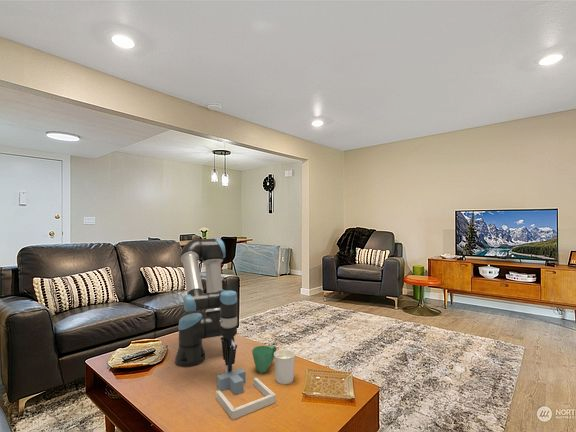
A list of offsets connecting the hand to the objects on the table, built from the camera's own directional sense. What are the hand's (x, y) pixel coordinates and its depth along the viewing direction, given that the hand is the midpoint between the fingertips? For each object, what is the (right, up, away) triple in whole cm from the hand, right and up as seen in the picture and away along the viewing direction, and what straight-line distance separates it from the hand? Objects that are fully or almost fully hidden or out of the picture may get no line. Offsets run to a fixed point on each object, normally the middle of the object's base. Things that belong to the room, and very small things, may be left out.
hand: (228, 377), depth 139 cm
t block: (+3, -2, -4) cm, 5 cm away
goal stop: (+10, -2, -14) cm, 17 cm away
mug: (+16, -2, +12) cm, 20 cm away
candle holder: (+25, -2, +2) cm, 26 cm away
